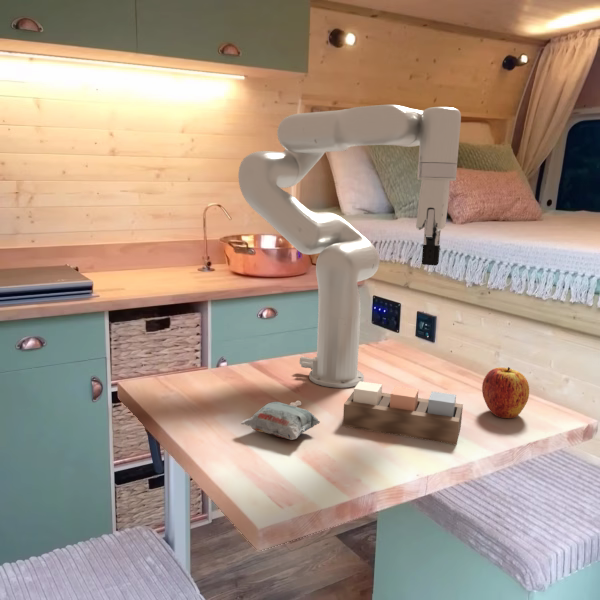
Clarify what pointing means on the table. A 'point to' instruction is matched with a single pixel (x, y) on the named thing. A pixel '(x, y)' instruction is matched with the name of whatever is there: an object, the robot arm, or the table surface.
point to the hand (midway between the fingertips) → (430, 264)
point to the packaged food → (282, 420)
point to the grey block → (442, 404)
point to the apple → (505, 392)
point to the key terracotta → (404, 398)
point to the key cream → (368, 393)
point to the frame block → (403, 420)
